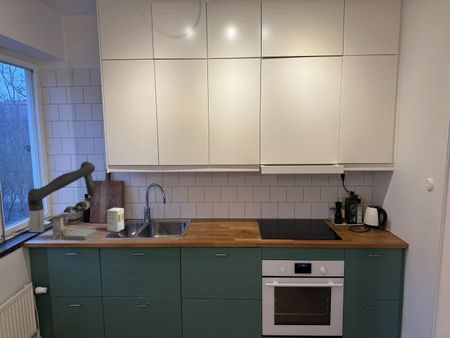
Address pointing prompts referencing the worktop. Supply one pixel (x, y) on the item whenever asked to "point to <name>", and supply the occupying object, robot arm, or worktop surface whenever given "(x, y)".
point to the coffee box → (60, 226)
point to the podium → (80, 234)
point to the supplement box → (115, 219)
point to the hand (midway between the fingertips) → (70, 211)
